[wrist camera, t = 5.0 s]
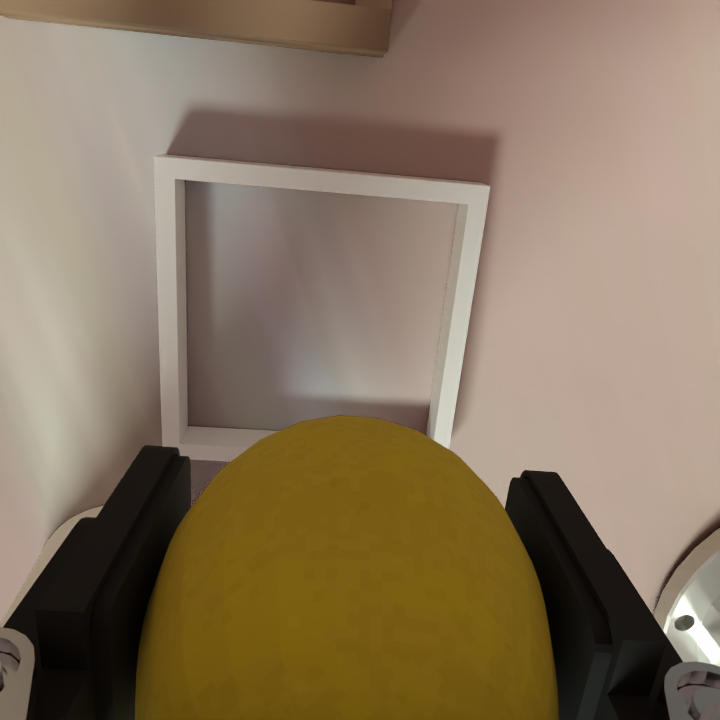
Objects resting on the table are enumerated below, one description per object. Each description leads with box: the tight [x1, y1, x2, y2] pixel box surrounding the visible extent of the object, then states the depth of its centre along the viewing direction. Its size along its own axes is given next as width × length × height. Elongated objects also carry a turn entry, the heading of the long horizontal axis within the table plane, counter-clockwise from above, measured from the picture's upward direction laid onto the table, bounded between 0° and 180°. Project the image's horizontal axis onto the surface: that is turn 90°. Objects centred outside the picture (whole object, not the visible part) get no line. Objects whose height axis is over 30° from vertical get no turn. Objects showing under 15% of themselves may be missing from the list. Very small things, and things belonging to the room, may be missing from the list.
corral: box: [154, 154, 490, 462], centre depth 21 cm, size 10×10×1 cm
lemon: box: [135, 415, 559, 720], centre depth 9 cm, size 6×6×8 cm
